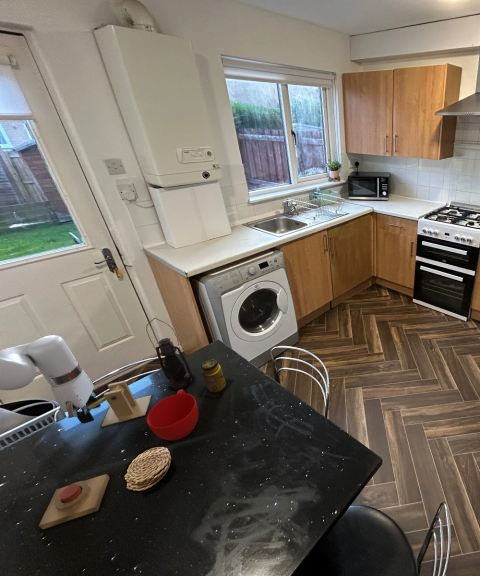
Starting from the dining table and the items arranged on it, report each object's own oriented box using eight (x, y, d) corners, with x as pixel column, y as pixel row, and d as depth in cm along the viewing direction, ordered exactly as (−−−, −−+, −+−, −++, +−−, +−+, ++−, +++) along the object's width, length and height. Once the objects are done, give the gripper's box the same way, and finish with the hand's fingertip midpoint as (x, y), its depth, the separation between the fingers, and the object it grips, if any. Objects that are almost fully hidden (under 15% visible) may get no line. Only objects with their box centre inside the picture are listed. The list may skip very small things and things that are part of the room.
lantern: (172, 395, 113) (141, 328, 98) (167, 382, 118) (138, 317, 103) (196, 384, 117) (170, 319, 103) (191, 372, 123) (165, 309, 108)
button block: (43, 530, 76) (34, 522, 74) (60, 494, 83) (52, 485, 81) (98, 511, 80) (91, 503, 78) (110, 478, 87) (104, 469, 85)
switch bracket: (102, 428, 100) (85, 403, 95) (111, 407, 108) (96, 383, 102) (146, 416, 104) (132, 392, 99) (152, 397, 112) (139, 373, 106)
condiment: (231, 382, 118) (223, 358, 112) (217, 399, 111) (208, 375, 105) (214, 379, 119) (206, 355, 113) (199, 396, 112) (189, 372, 106)
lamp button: (60, 505, 78) (56, 501, 77) (66, 490, 80) (63, 487, 80) (78, 499, 79) (74, 495, 78) (83, 485, 82) (80, 481, 81)
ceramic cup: (209, 401, 110) (201, 380, 106) (200, 442, 96) (191, 421, 92) (167, 410, 107) (157, 389, 102) (152, 454, 93) (140, 433, 88)
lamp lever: (86, 417, 99) (79, 414, 97) (92, 406, 103) (85, 402, 101) (121, 396, 100) (115, 392, 99) (126, 385, 104) (119, 381, 103)
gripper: (61, 358, 98) (87, 398, 107) (32, 398, 85) (65, 440, 93) (90, 352, 101) (114, 392, 110) (67, 390, 87) (96, 432, 96)
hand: (91, 414), depth 101 cm, fingers closed on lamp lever, 5 cm apart
